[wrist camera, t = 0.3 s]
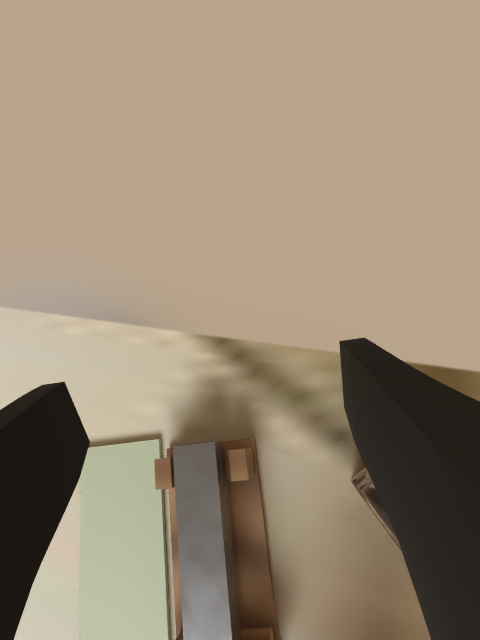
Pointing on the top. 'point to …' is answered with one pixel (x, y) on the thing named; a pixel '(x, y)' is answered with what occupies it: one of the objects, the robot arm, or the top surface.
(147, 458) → the mat
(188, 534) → the rail
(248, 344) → the top surface
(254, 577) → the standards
